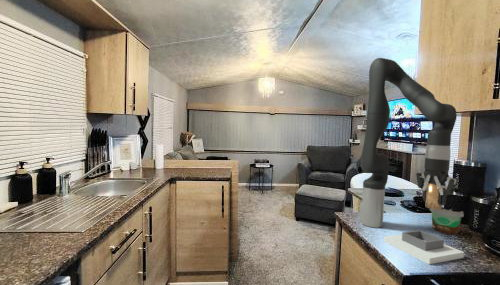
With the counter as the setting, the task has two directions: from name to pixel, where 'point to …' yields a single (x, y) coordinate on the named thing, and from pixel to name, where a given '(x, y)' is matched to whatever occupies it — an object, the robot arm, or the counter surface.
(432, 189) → the spout can
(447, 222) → the food container
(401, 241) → the white board with frame
